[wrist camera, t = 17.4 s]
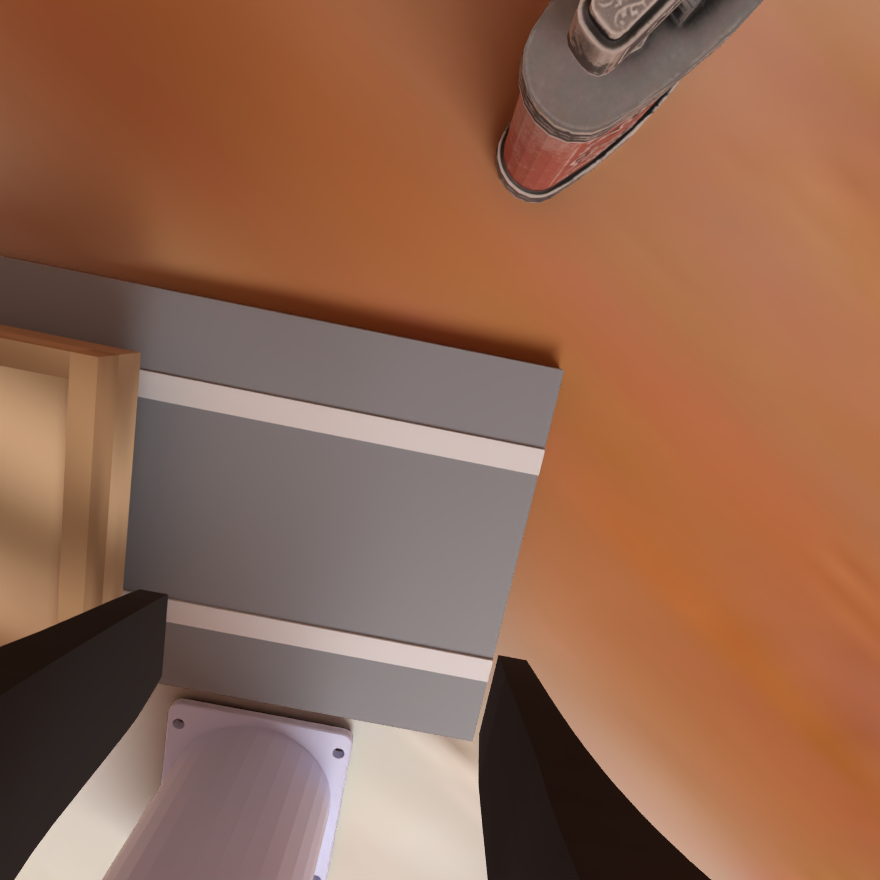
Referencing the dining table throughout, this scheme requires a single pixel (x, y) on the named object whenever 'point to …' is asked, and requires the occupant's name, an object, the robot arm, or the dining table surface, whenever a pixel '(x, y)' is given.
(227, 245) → the dining table surface
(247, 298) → the dining table surface
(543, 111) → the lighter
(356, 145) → the dining table surface
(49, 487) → the tray
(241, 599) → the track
